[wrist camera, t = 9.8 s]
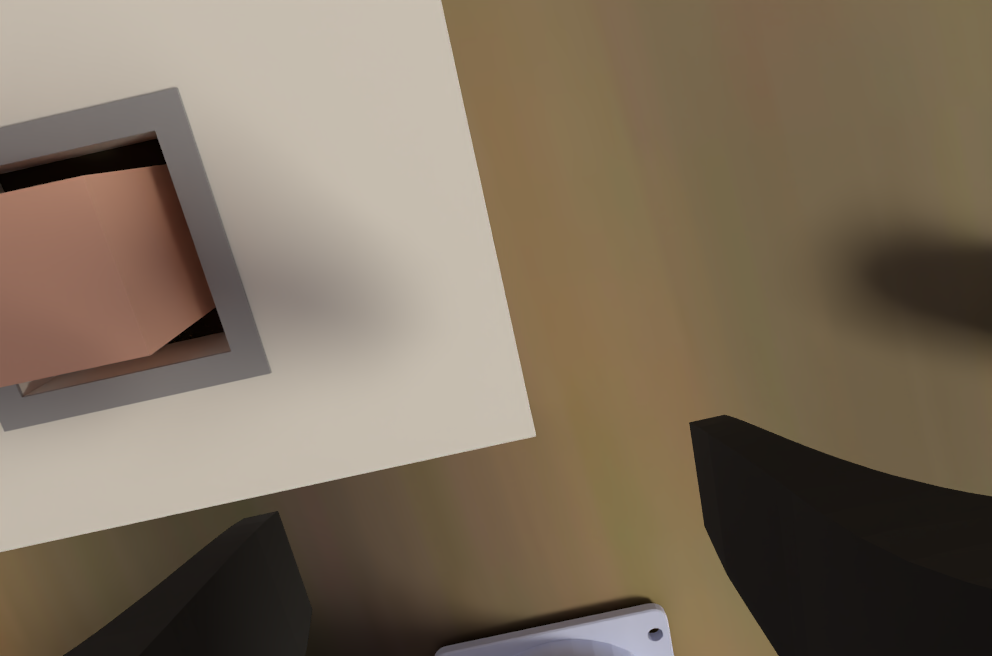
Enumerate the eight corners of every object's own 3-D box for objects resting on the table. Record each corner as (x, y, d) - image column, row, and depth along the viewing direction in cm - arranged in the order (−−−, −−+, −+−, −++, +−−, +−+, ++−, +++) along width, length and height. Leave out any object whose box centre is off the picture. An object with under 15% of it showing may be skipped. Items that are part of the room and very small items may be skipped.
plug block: (224, 300, 20) (150, 355, 15) (91, 329, 20) (-24, 392, 15) (178, 162, 19) (83, 175, 14) (38, 193, 19) (-105, 216, 14)
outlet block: (528, 401, 21) (536, 437, 19) (-95, 536, 22) (-167, 589, 19) (417, -104, 17) (409, -142, 15) (-341, 73, 18) (-472, 64, 15)
